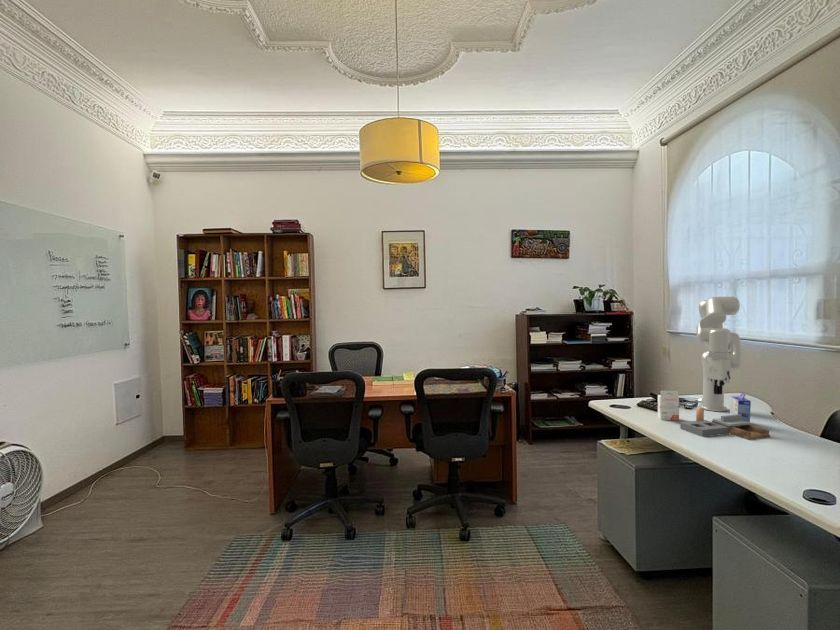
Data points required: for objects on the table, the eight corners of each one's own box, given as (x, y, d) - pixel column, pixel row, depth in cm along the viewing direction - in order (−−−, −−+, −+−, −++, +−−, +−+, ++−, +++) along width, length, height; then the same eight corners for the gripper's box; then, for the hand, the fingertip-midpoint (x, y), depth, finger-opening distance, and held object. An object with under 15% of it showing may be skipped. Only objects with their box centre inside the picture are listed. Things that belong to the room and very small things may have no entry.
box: (710, 427, 202) (710, 421, 201) (731, 425, 204) (731, 419, 204) (747, 439, 184) (747, 432, 184) (769, 437, 187) (770, 430, 186)
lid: (712, 420, 201) (712, 413, 201) (732, 419, 203) (732, 412, 203) (730, 426, 192) (730, 418, 192) (750, 424, 195) (750, 417, 194)
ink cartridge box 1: (675, 418, 218) (676, 389, 217) (679, 420, 213) (679, 391, 212) (657, 417, 220) (657, 388, 219) (660, 419, 215) (660, 390, 214)
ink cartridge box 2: (751, 426, 202) (751, 396, 201) (737, 425, 204) (737, 395, 203) (742, 420, 211) (742, 391, 211) (729, 420, 213) (729, 391, 213)
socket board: (680, 428, 200) (680, 422, 200) (705, 426, 203) (705, 420, 203) (702, 436, 189) (702, 429, 188) (728, 434, 192) (728, 427, 191)
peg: (694, 423, 207) (694, 407, 207) (699, 423, 208) (700, 407, 208) (699, 425, 204) (700, 409, 204) (705, 425, 205) (705, 408, 205)
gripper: (698, 354, 210) (698, 391, 210) (726, 357, 195) (725, 397, 196) (711, 353, 212) (710, 390, 212) (739, 357, 197) (739, 396, 197)
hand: (718, 393), depth 204 cm, fingers closed
